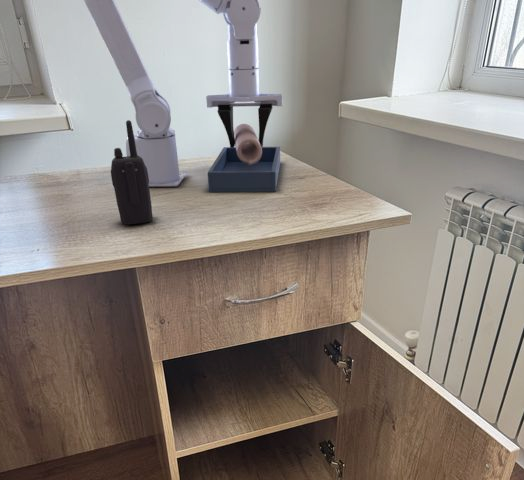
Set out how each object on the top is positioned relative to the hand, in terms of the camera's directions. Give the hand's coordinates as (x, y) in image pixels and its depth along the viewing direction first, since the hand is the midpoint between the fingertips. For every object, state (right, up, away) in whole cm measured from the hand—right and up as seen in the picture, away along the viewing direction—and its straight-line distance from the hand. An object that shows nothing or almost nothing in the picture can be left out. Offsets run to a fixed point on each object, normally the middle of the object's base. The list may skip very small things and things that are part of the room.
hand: (246, 146), depth 100 cm
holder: (0, -5, +3) cm, 6 cm away
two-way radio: (-17, -21, -20) cm, 33 cm away
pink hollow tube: (0, -2, +1) cm, 2 cm away
